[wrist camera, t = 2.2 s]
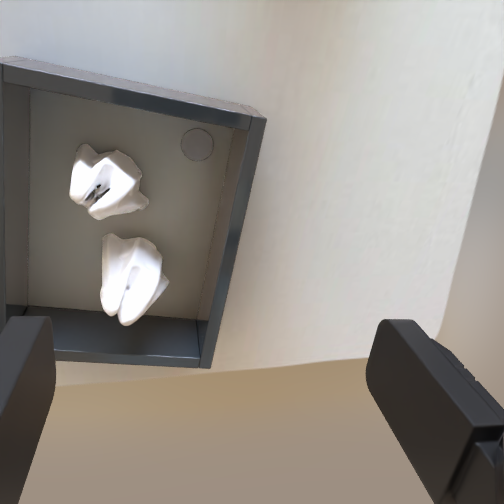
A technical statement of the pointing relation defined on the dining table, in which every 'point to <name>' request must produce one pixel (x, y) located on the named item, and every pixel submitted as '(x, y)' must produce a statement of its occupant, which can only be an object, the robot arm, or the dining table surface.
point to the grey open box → (193, 146)
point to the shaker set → (114, 248)
